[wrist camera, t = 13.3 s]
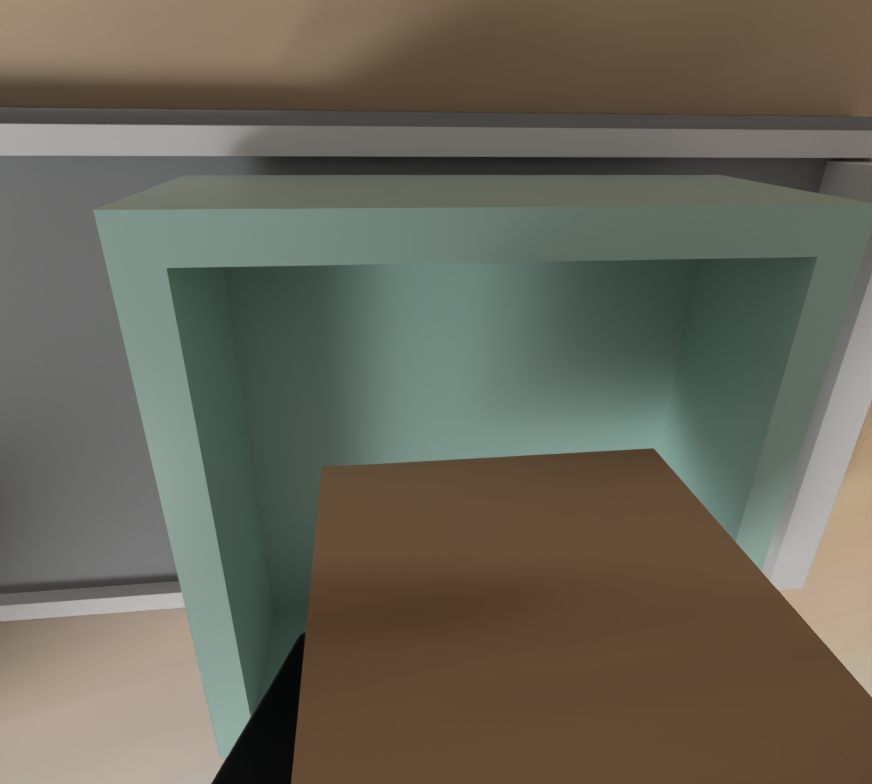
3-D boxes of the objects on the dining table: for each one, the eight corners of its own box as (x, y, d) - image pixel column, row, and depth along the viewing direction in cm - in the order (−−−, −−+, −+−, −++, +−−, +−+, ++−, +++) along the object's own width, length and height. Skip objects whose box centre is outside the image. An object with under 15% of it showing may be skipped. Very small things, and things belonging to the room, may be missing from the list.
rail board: (732, 540, 22) (794, 612, 19) (-180, 606, 18) (-288, 706, 15) (854, 117, 16) (974, 118, 12) (-477, 102, 12) (-755, 99, 9)
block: (609, 675, 11) (777, 1053, 7) (342, 703, 11) (332, 1134, 6) (653, 447, 9) (944, 780, 5) (321, 466, 8) (282, 866, 4)
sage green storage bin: (621, 544, 20) (718, 706, 14) (260, 569, 18) (219, 758, 13) (690, 169, 15) (880, 205, 9) (199, 168, 13) (93, 209, 8)
